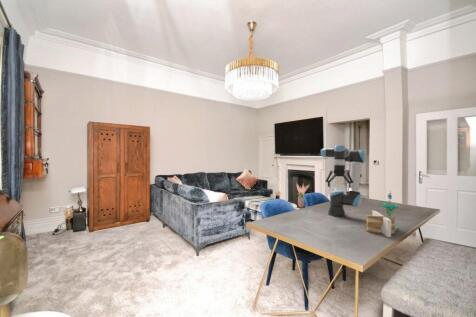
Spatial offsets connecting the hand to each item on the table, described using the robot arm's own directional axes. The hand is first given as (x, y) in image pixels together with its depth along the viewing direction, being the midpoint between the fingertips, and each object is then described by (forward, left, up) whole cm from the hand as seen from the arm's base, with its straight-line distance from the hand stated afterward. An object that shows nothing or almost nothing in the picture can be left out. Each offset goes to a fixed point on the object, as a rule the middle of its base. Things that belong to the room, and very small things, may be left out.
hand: (338, 191), depth 172 cm
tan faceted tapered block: (+6, +28, -29) cm, 40 cm away
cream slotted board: (+2, +30, -29) cm, 42 cm away
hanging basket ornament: (-5, +39, -29) cm, 49 cm away
